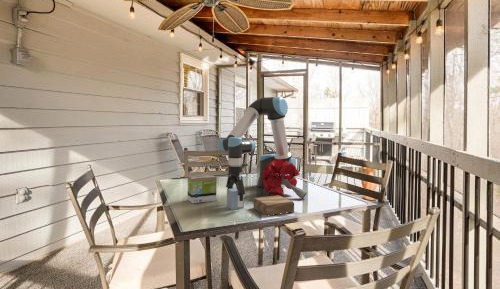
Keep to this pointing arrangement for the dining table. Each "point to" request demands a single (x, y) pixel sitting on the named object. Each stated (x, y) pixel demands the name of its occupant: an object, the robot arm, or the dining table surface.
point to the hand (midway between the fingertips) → (235, 203)
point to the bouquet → (281, 178)
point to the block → (233, 199)
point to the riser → (273, 205)
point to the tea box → (202, 188)
